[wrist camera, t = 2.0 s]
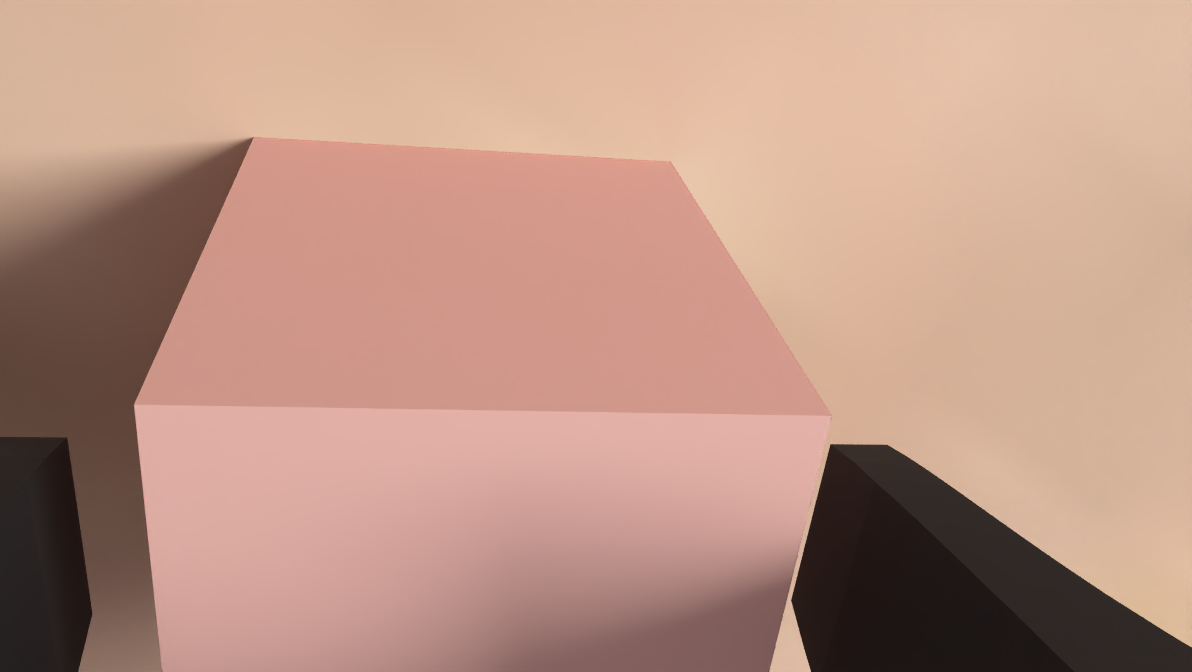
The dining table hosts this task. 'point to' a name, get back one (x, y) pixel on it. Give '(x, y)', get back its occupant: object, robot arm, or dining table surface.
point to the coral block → (471, 424)
